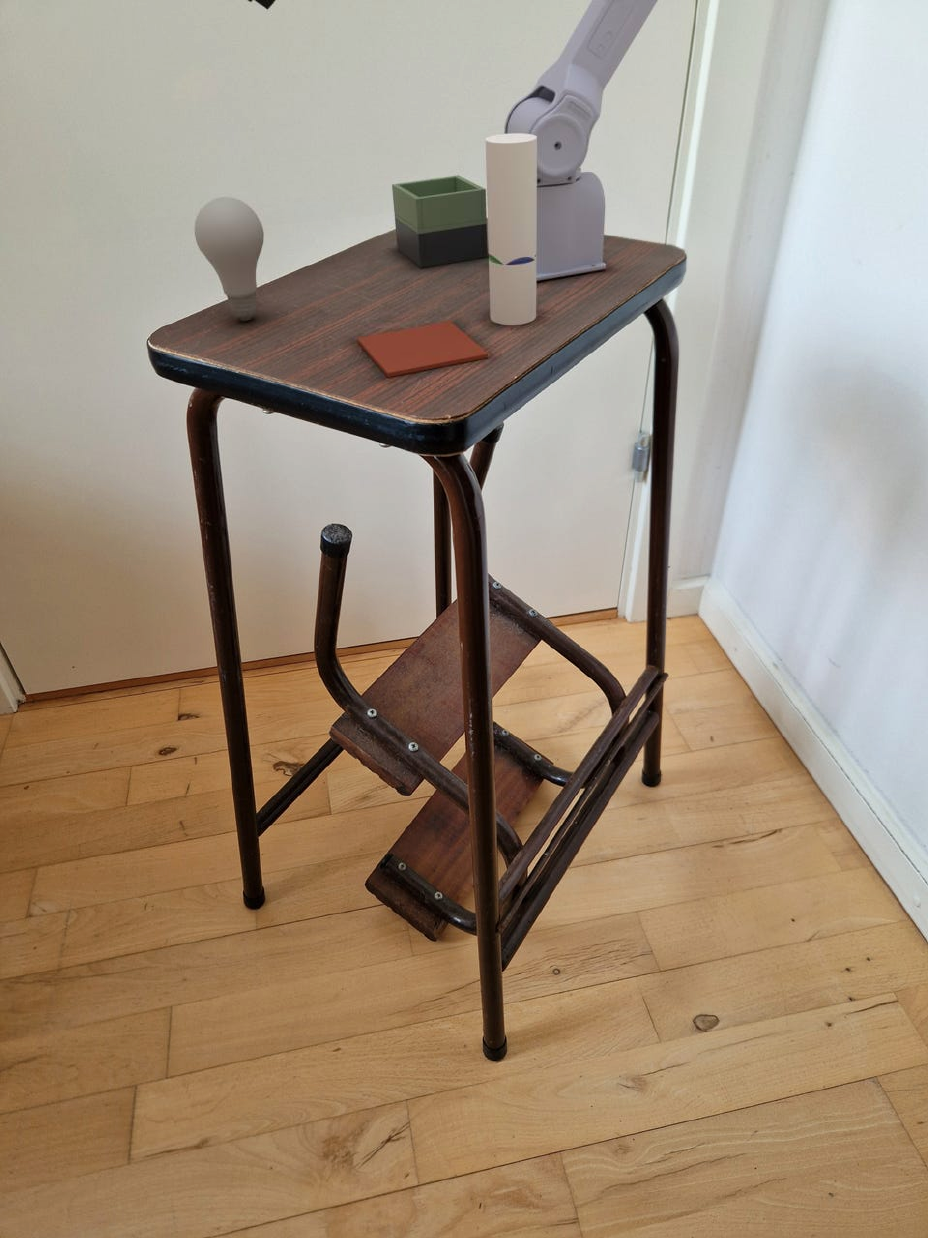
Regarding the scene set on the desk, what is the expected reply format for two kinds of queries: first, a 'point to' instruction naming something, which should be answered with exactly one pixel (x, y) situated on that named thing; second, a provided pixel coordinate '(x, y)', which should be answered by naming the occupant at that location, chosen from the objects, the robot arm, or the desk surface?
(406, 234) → the box
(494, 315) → the tube
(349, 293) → the desk surface
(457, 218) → the box
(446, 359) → the mat
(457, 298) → the desk surface
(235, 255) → the lightbulb
